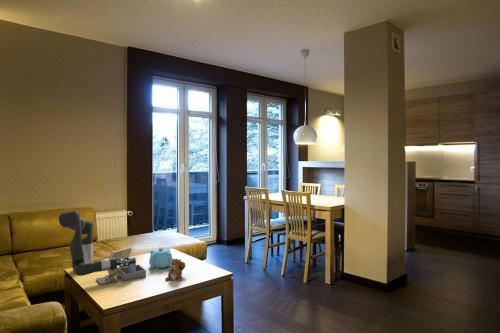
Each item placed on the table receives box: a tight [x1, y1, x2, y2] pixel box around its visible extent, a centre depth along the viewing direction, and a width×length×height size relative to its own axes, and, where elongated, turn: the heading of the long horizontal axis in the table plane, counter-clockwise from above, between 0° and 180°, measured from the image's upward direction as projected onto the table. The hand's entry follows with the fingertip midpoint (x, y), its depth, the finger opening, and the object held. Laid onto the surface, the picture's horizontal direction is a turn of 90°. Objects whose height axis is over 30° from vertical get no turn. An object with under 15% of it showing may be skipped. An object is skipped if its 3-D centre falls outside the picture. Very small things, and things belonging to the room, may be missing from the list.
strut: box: [128, 256, 137, 273], centre depth 232 cm, size 4×4×12 cm
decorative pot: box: [148, 247, 174, 270], centre depth 252 cm, size 16×16×14 cm
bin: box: [117, 264, 147, 282], centre depth 232 cm, size 15×14×4 cm
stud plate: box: [96, 274, 118, 286], centre depth 223 cm, size 12×10×4 cm
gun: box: [107, 247, 132, 276], centre depth 245 cm, size 24×3×15 cm, turn 168°
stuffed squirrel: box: [164, 258, 186, 282], centre depth 227 cm, size 10×14×13 cm
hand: (133, 259), depth 233 cm, fingers open, 8 cm apart
